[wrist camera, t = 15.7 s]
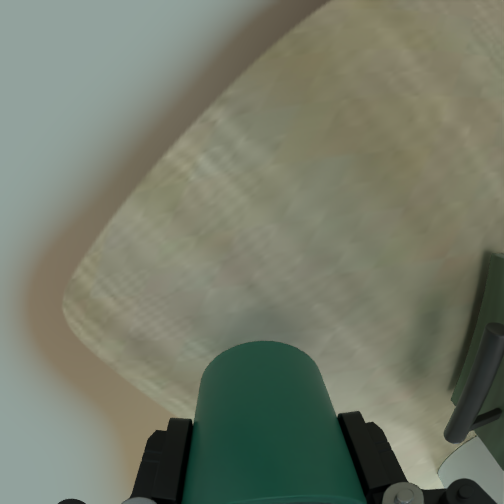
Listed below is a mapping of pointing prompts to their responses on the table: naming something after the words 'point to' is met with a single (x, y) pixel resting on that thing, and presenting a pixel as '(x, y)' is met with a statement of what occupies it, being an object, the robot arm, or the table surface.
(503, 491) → the cylindrical container
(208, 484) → the can
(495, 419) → the drawer
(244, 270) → the table surface
